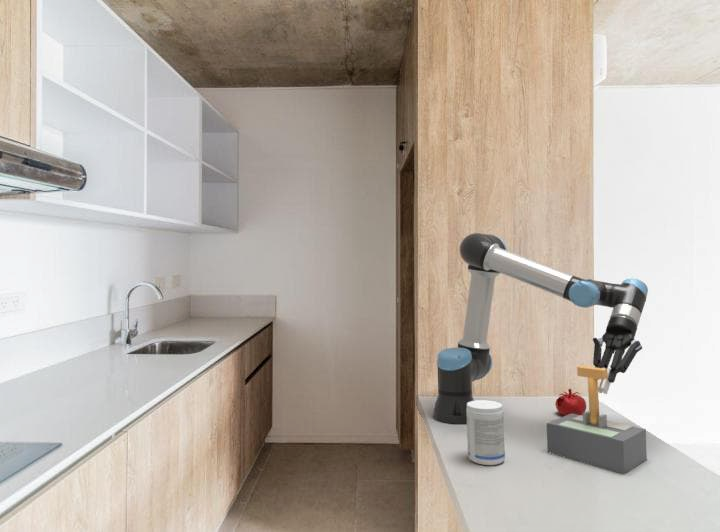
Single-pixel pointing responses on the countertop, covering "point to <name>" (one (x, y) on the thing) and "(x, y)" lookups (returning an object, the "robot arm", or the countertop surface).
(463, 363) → the robot arm
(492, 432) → the supplement tub
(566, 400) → the pomegranate
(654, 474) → the countertop surface
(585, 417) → the box
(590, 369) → the lever
